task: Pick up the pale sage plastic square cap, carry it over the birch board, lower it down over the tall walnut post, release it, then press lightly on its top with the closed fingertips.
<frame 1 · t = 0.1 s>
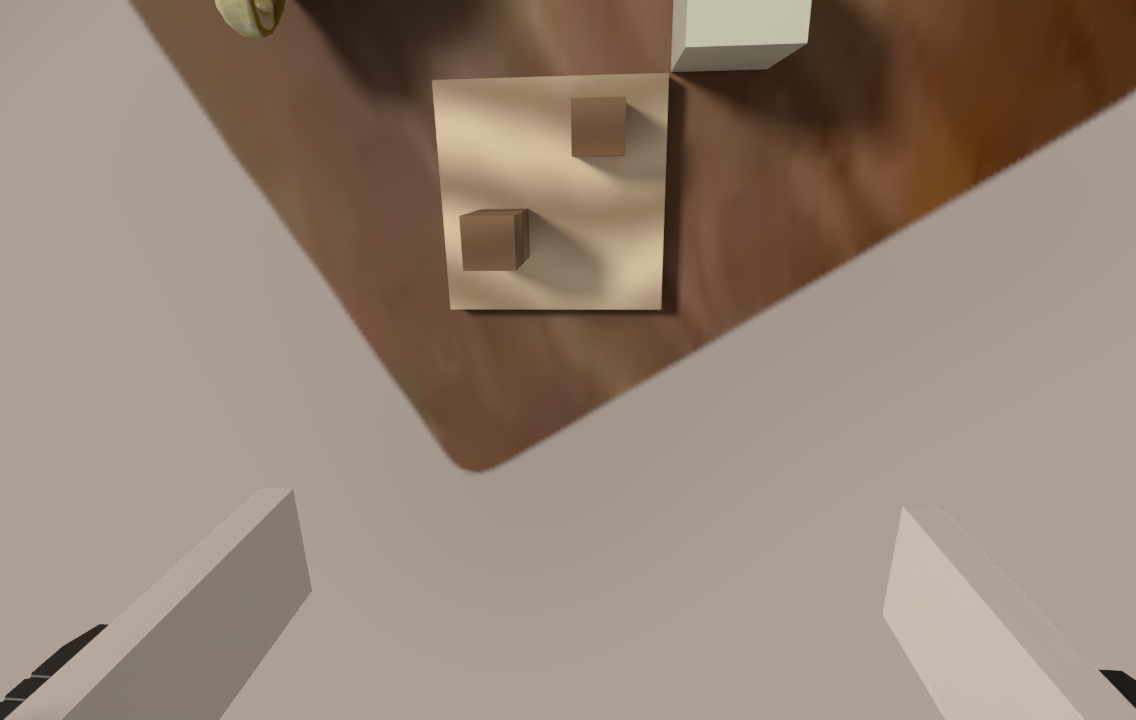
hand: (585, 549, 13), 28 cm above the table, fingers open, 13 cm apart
cap: (721, 17, 34), on the table
board: (553, 199, 38), on the table
tall post: (505, 233, 37), resting on board
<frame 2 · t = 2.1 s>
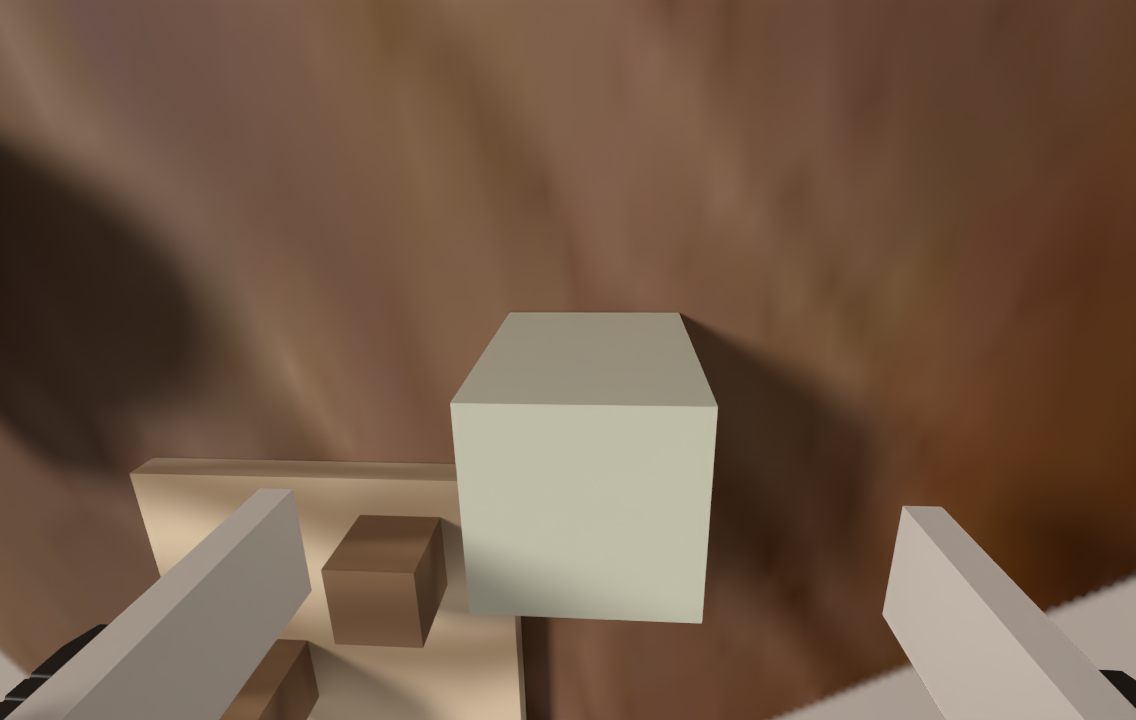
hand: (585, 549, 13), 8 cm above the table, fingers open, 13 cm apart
cap: (593, 390, 20), on the table
board: (354, 609, 24), on the table
tall post: (278, 667, 24), resting on board
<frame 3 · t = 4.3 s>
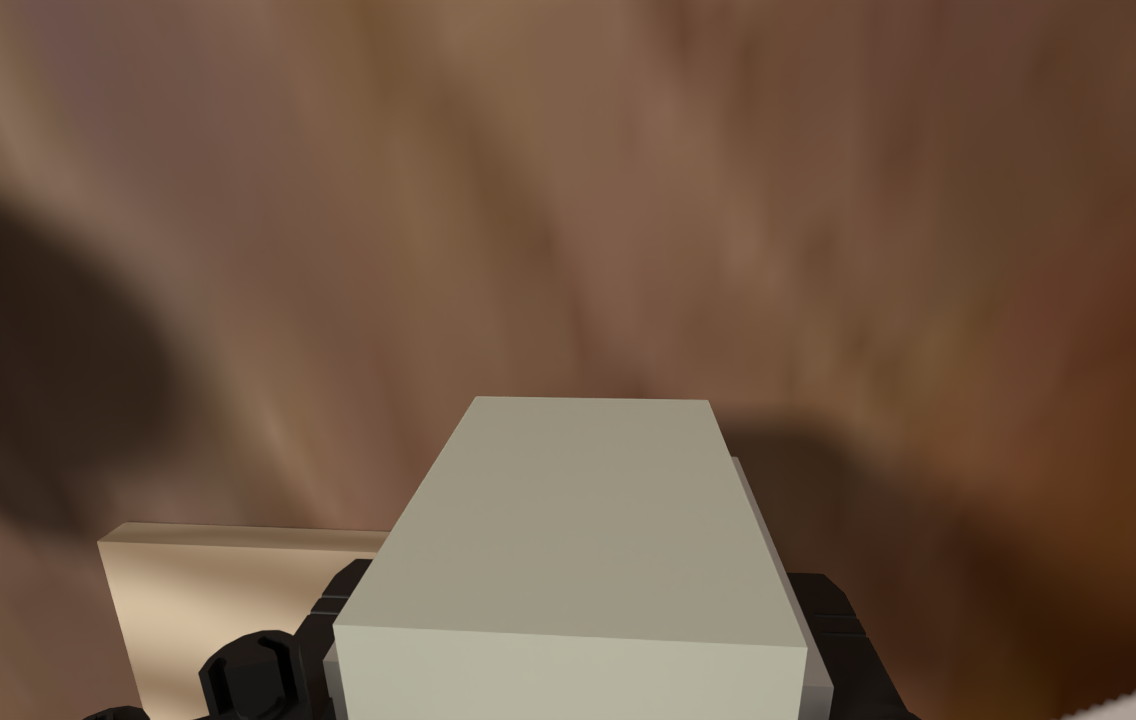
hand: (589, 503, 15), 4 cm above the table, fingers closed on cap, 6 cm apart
cap: (590, 500, 15), point 4 cm above the table, touching gripper
board: (337, 689, 22), on the table
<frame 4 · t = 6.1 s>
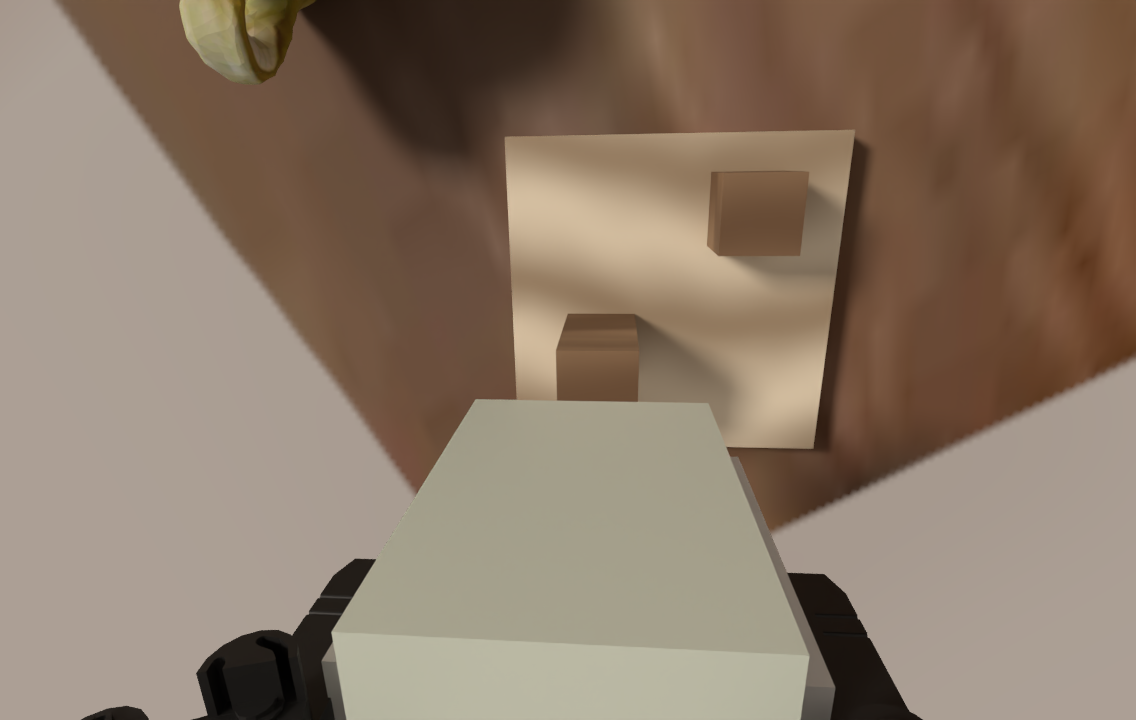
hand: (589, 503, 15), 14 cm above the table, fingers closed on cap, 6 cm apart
cap: (590, 503, 15), point 14 cm above the table, touching gripper
board: (666, 297, 27), on the table
tall post: (600, 345, 27), resting on board
when the fingers open (2 cm above the table, at t = 8.1 s): cap stays where it is, resting on board.
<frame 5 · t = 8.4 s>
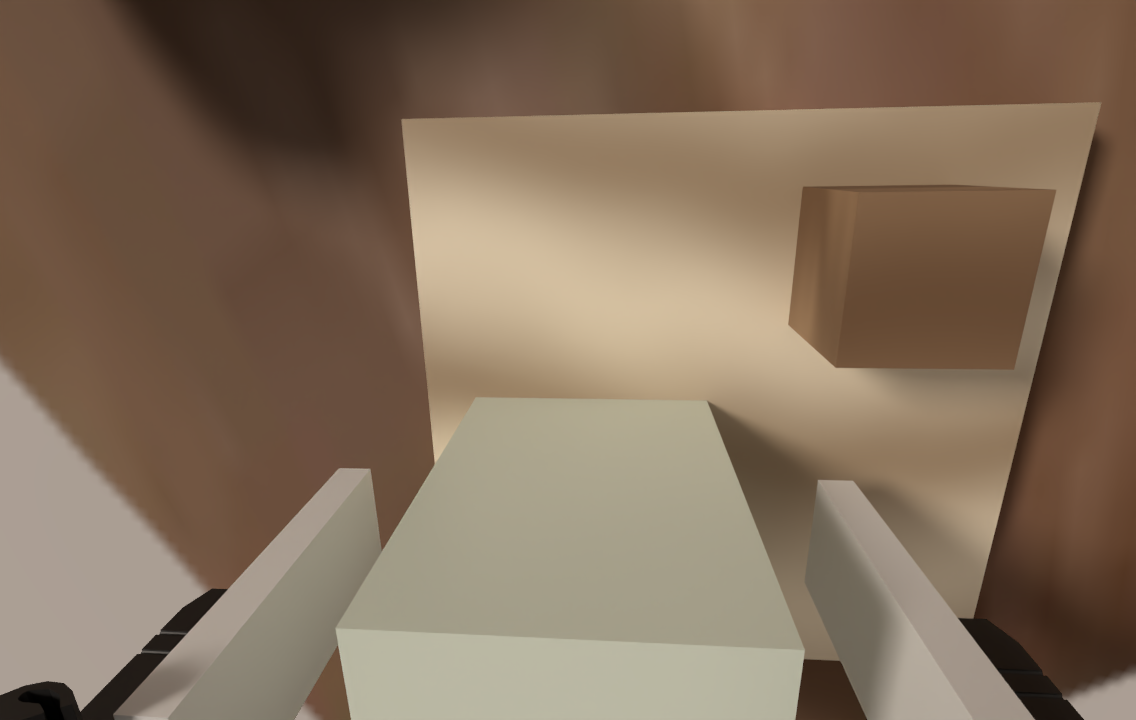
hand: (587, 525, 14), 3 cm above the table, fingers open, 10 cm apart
cap: (590, 499, 15), point 1 cm above the table, touching board
board: (706, 405, 15), on the table
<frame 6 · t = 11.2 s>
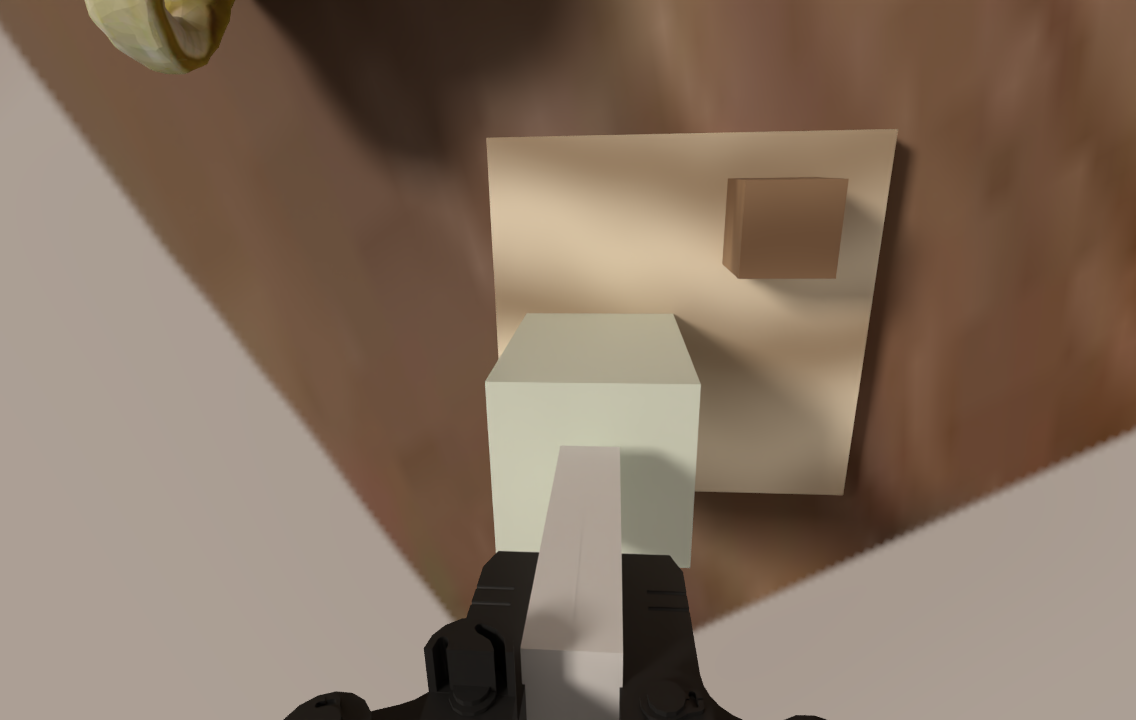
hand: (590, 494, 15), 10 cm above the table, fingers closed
cap: (599, 382, 23), point 1 cm above the table, touching board
board: (674, 321, 23), on the table
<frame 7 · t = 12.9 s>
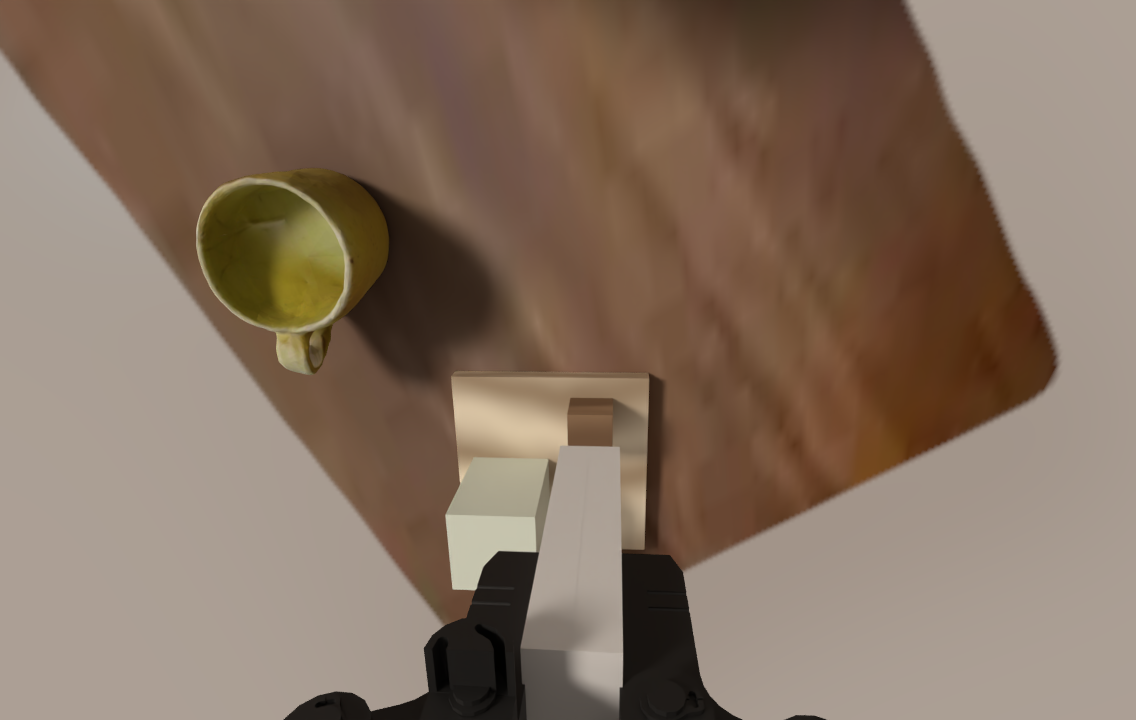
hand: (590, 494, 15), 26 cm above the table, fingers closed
mug: (336, 261, 41), on the table
cap: (512, 491, 44), point 1 cm above the table, touching board
board: (553, 458, 44), on the table
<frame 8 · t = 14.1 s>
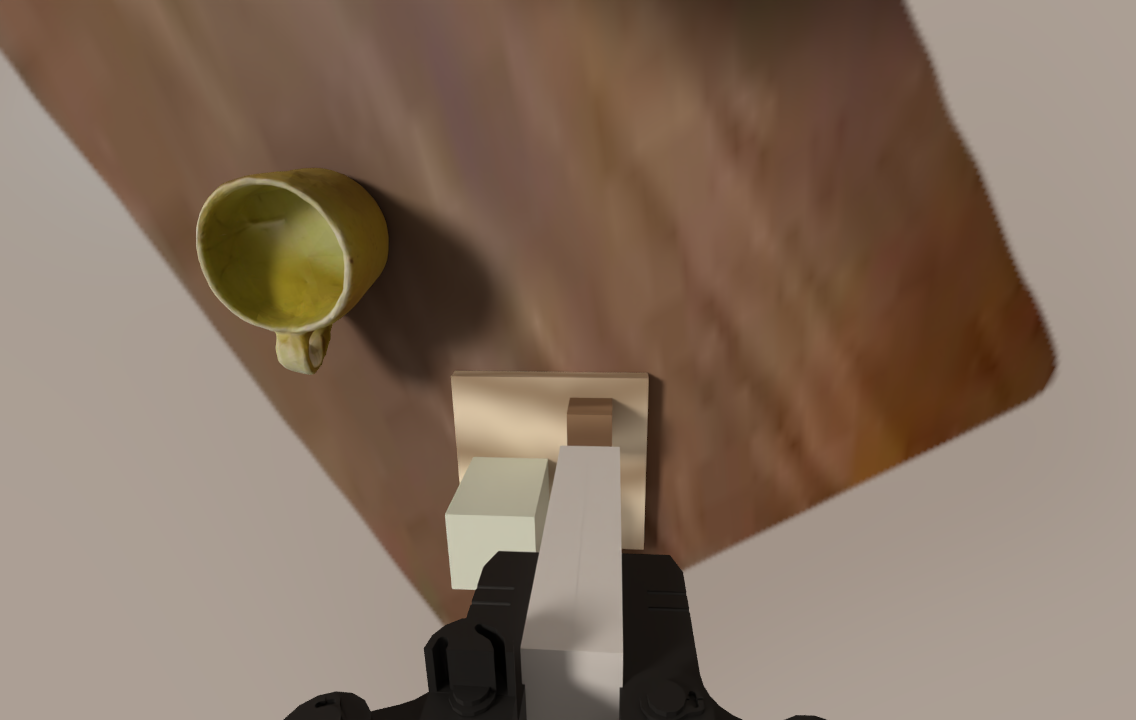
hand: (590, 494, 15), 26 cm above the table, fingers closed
mug: (336, 261, 41), on the table
cap: (512, 490, 44), point 1 cm above the table, touching board
board: (552, 458, 44), on the table
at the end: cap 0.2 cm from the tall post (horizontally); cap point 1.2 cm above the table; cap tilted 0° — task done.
